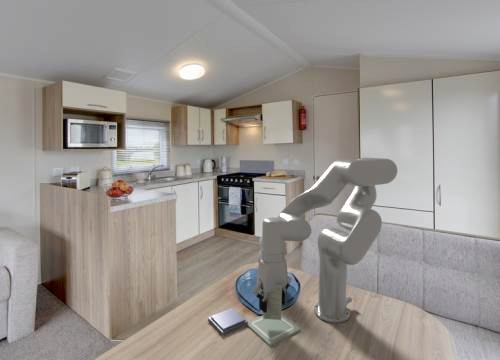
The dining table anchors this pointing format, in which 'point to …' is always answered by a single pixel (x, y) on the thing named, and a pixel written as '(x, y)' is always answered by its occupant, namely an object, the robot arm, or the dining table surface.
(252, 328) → the marked board
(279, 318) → the skincare box
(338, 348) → the dining table surface
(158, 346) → the dining table surface
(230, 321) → the ink pad
